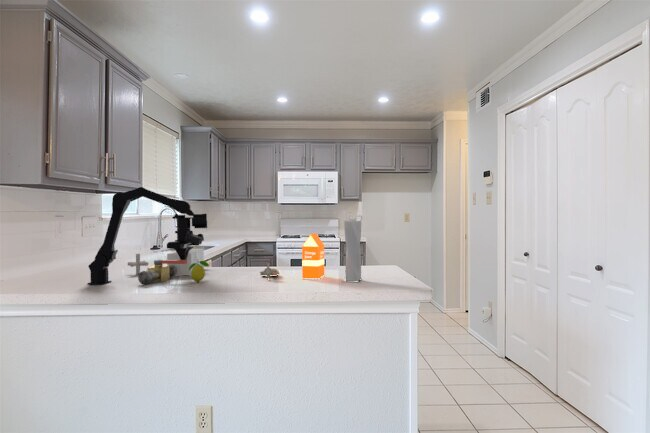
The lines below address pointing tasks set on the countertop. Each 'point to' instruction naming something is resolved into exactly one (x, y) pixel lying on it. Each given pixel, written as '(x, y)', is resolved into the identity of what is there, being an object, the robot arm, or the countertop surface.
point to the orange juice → (313, 257)
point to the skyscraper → (353, 249)
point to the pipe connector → (138, 263)
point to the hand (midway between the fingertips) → (184, 262)
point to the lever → (170, 261)
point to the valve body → (157, 274)
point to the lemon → (198, 271)
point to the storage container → (192, 257)
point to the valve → (269, 271)
